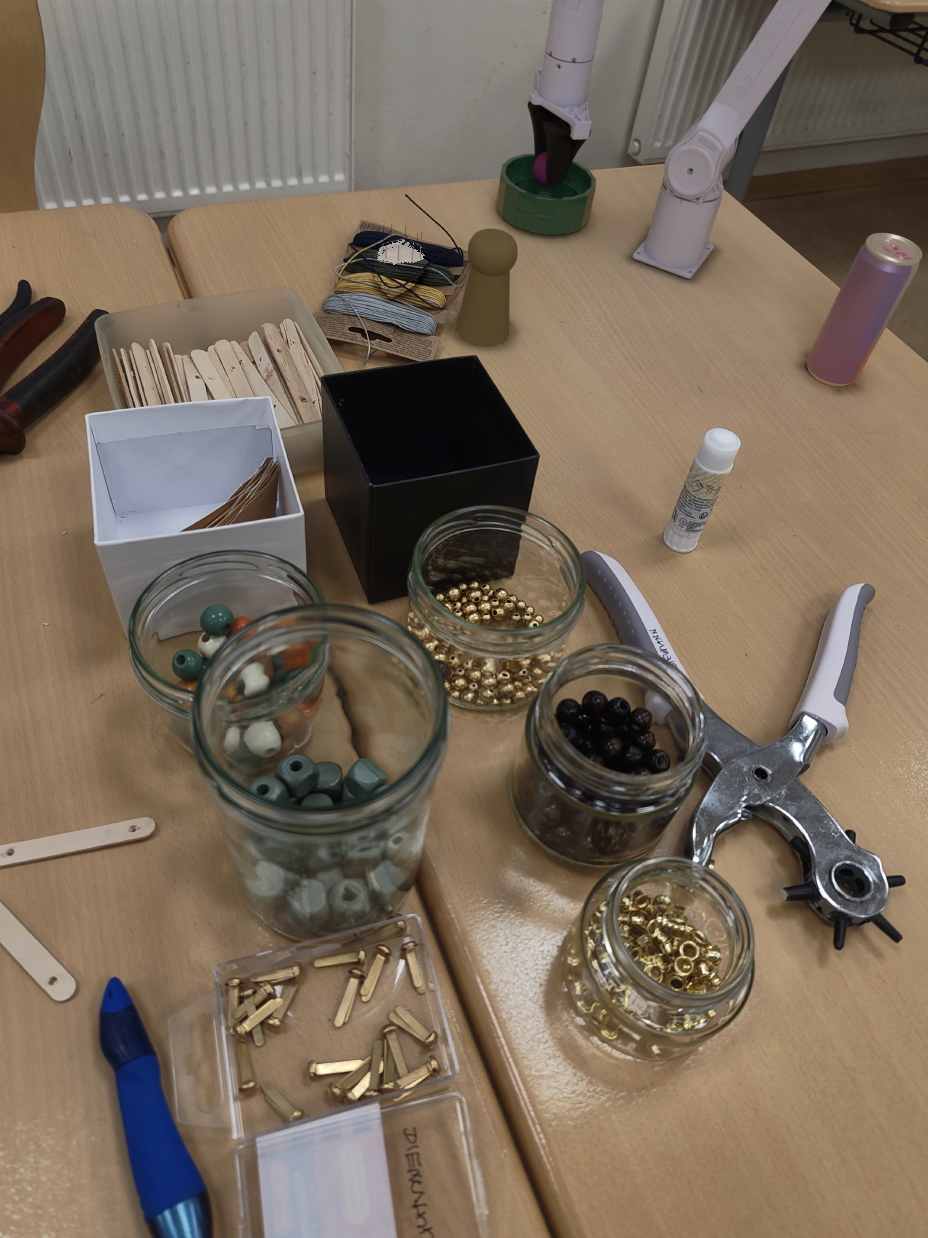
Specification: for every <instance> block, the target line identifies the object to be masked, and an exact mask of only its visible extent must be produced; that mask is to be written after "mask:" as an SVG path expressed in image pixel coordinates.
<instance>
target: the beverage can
mask: <svg viewBox="0 0 928 1238" xmlns="http://www.w3.org/2000/svg"><path fill="white" fill-rule="evenodd" d="M922 258H923V251H922V249H921V248H920V247H919V246H918V245H917V244H916V243H915V242H913V241H912V240H910V239H908V238H906V237H903V236H902V235H899V234H894V233H889V232H875V233H871V234H870V235H869V236H867V238H866V239H865V242H864V243H863V244H862V245H861V246H860V247H859V250H858V252H857V253H856V255H855V257H854V259H853V262H852V264H851V266H850V268H849V270H848V273H847V274H846V277H845V278H844V280H843V283H842V285H841V287H840V289H839V291H838V293H837V295H836V298H835V299H834V301H833V304H832V306H831V307H830V310H829V312H828V314H827V316H826V318H825V320H824V322H823V324H822V326H821V328H820V330H819V333H818V335H817V337H816V339H815V341H814V343H813V345H812V347H811V349H810V351H809V354H808V356H807V358H806V367H807V370H808V372H809V374H810V375H811V376H812V377H813V378H814V379H815V380H817V381H819V382H820V383H822V384H824V385H828V386H832V387H846V386H848V385H851V384H853V383H854V382H855V381H858V379H859V378H860V376H861V374H862V371H863V370H864V368H865V366H866V364H867V363H868V360H869V359H870V357H871V356H872V354H873V352H874V350H875V349H876V346H877V344H878V342H879V340H880V339H881V337H882V335H883V334H884V332H885V330H886V328H887V326H888V325H889V323H890V320H891V318H892V317H893V315H894V313H895V311H896V310H897V308H898V306H899V304H900V302H901V301H902V298H903V297H904V295H905V293H906V291H907V290H908V288H909V286H910V284H911V282H912V280H913V279H914V277H915V275H916V273H917V271H918V269H919V266H920V261H921V259H922Z"/></svg>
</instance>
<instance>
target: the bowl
mask: <svg viewBox="0 0 928 1238" xmlns="http://www.w3.org/2000/svg"><path fill="white" fill-rule="evenodd" d="M534 162H535V153H523V154H520V155H516V156H513V157H510V158H509V159H507V160H506V161H505V162H504V163H502V165H501V169H500V176H499V183H498V191H497V200H496V206H495V208H496V210H497V211H498V212H499V215H500V216H501V218H502V219H504V220H506V221H507V222H508V223H510V224H511V225H513V226H514V227H516V228H519V229H522V230H525V231H527V232H530V233H534V234H541V235H547V236H553V235H567V234H571V233H574V232H577V231H579V230H582V229H583V228H584V227H585V226H586V225H587V224H588V223H589V221H590V215H591V211H592V206H593V203H594V198H595V193H596V188H597V178H596V177H595V175H594V174H593V173H592V172H591V170H590V169H589V168H588V167H586V166H584V165H583V164H581V163H580V162H578V161H576V160H573V161H572V164H571V166H570V168H569V170H568V173H567V175H566V177H565V179H564V181H563V183H557V184H555V185H553V186H544V185H541V184H540V183H539V182H538V181H537V180H536V179H535V177H534V173H533V165H534Z"/></svg>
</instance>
